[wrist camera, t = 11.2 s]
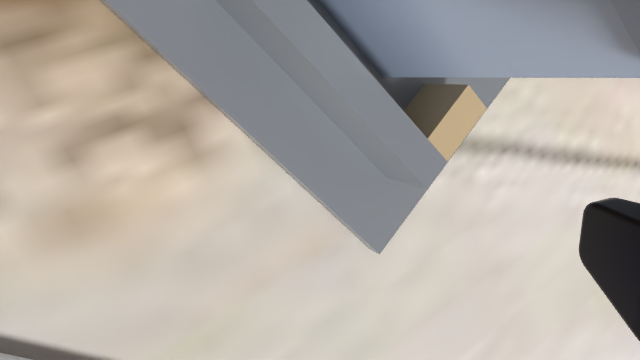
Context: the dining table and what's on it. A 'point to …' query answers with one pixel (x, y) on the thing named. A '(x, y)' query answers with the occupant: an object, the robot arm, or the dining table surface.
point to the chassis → (317, 101)
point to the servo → (494, 37)
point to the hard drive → (11, 357)
